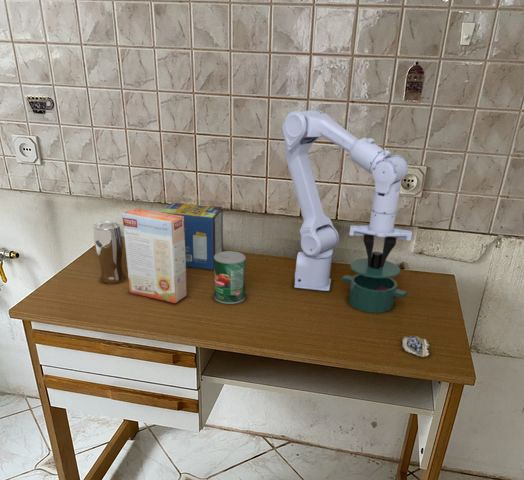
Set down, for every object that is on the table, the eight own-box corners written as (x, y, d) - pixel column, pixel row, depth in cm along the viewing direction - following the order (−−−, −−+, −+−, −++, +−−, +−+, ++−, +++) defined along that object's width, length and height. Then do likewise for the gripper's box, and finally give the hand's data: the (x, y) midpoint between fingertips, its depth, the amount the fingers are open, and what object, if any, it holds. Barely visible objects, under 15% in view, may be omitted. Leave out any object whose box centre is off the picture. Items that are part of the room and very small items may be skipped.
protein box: (175, 252, 160) (172, 201, 152) (223, 257, 157) (223, 206, 149) (162, 264, 151) (159, 211, 143) (213, 270, 148) (213, 216, 141)
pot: (392, 320, 126) (396, 298, 123) (331, 301, 134) (334, 280, 131) (409, 304, 134) (414, 283, 131) (351, 287, 142) (354, 267, 139)
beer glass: (94, 281, 138) (86, 226, 131) (110, 272, 144) (103, 219, 136) (116, 286, 136) (109, 231, 129) (131, 277, 142) (126, 223, 134)
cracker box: (188, 296, 133) (185, 215, 122) (175, 304, 128) (171, 221, 118) (143, 284, 138) (136, 206, 127) (128, 293, 133) (120, 212, 122)
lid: (387, 285, 122) (390, 266, 119) (341, 272, 128) (343, 254, 125) (406, 270, 130) (410, 252, 128) (362, 258, 136) (365, 241, 134)
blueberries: (423, 338, 119) (425, 330, 118) (439, 356, 112) (441, 348, 111) (395, 339, 118) (397, 332, 117) (409, 357, 111) (411, 350, 110)
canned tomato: (250, 295, 135) (251, 255, 129) (235, 306, 129) (235, 265, 123) (224, 288, 138) (224, 249, 132) (208, 299, 132) (207, 258, 126)
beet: (369, 294, 130) (388, 290, 128) (371, 285, 134) (390, 281, 131) (375, 309, 132) (394, 304, 130) (377, 299, 136) (395, 295, 133)
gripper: (352, 212, 119) (345, 268, 126) (416, 218, 117) (406, 274, 124) (353, 204, 125) (346, 258, 132) (414, 210, 123) (404, 264, 130)
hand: (375, 265), depth 128 cm, fingers closed on lid, 2 cm apart
